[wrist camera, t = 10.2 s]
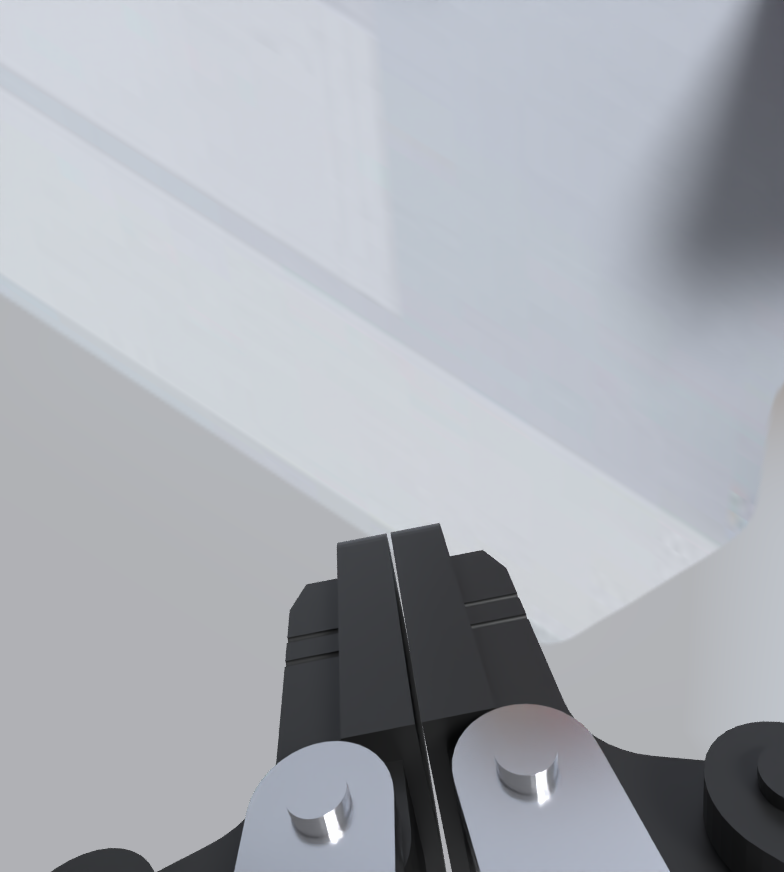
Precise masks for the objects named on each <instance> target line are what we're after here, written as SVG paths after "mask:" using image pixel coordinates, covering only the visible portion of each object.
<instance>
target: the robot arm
mask: <svg viewBox="0 0 784 872" xmlns="http://www.w3.org/2000/svg"><path fill="white" fill-rule="evenodd" d="M391 538H392V544H393V550H394V556H395V563H396V569H397V574H398V581H399V587H400V593H401V599H402V605H403V611H404V617H403V612H402V607H401V602H400V597H399V592H398V588H397V582H396V577H395V572H394V568H393V563H392V558H391V552H390V548H389V543H388V538H387V534H381V535H376V536H371V537H366V538H361V539H356V540H350V541H346V542H340V543H337V575H338V576H337V577H338V579H333V580H327V581H322V582H317V583H312V584H307V585H306V586H305V588H304V589H303V591H302V592H301V594H300V596H299V597H298V599H297V600H296V602H295V603H294V605H293V606H292V608H291V610H290V614H289V626H288V637H287V638H288V643H287V648H286V660H285V661H286V667H285V671H284V683H283V694H282V705H281V717H280V728H279V740H278V751H277V761H276V765H275V766H274V767H273V768H272V769H271V770H270V771H269V772H268V773H267V774H266V775H265V777H264V778H263V779H262V780H261V782H260V783H259V785H258V786H257V788H256V789H255V791H254V793H253V796H252V798H251V800H250V802H249V806H248V809H247V813H246V817H245V819H244V820H243V821H242V822H241V823H240V824H239V825H238V826H237V827H236V828H234V829H233V830H232V831H230V832H229V833H228V834H226V835H225V836H224V837H222V838H220V839H219V840H217V841H215V842H213V843H212V844H210V845H208V846H206V847H204V848H202V849H201V850H199V851H197V852H195V853H193V854H191V855H189V856H187V857H185V858H183V859H181V860H179V861H177V862H175V863H173V864H172V865H169V866H168V867H166V868H164V869H162V870H160V871H158V872H446V868H445V861H444V855H443V849H442V843H441V837H440V831H439V825H438V818H437V813H436V806H435V801H434V794H433V788H432V782H431V776H430V770H429V763H428V757H427V751H428V755H429V761H430V765H431V770H432V775H433V780H434V785H435V790H436V795H437V800H438V804H439V809H440V814H441V820H442V824H443V829H444V834H445V839H446V844H447V849H448V854H449V859H450V863H451V869H452V872H784V723H782V722H754V723H749V724H744V725H741V726H737V727H735V728H732V729H730V730H728V731H726V732H725V733H724V734H722V735H721V736H719V737H718V738H717V739H716V741H714V743H713V744H712V745H711V747H710V749H709V750H708V752H707V754H706V759H705V761H703V760H692V759H680V758H668V757H659V756H649V755H642V754H637V753H633V752H629V751H625V750H622V749H619V748H617V747H614V746H612V745H609V744H607V743H605V742H604V741H602V740H600V739H598V738H596V737H595V736H594V735H592V734H591V733H590V732H589V731H588V730H587V729H586V728H585V727H584V726H583V725H582V724H581V723H580V722H578V721H577V720H576V719H574V717H573V716H572V715H571V713H570V712H569V710H568V708H567V707H566V705H565V703H564V701H563V699H562V696H561V694H560V692H559V689H558V687H557V684H556V682H555V680H554V677H553V675H552V673H551V671H550V668H549V666H548V664H547V662H546V659H545V657H544V654H543V652H542V650H541V647H540V645H539V643H538V640H537V638H536V636H535V634H534V631H533V629H532V627H531V624H530V622H529V620H528V619H527V617H526V613H525V610H524V608H523V606H522V603H521V601H520V599H519V598H518V596H517V592H516V590H515V587H514V585H513V583H512V580H511V578H510V576H509V573H508V571H507V569H506V568H505V567H504V566H503V565H502V564H500V563H499V562H498V561H496V560H495V559H494V558H492V557H491V556H490V555H488V554H487V553H486V552H485V551H483V550H481V551H475V552H470V553H465V554H460V555H455V556H449V552H448V549H447V546H446V542H445V539H444V536H443V533H442V529H441V526H440V524H439V523H437V524H432V525H427V526H422V527H417V528H411V529H406V530H401V531H396V532H391ZM404 618H405V622H404ZM405 623H406V627H405ZM406 629H407V632H406ZM407 636H408V638H407ZM408 642H409V643H408ZM409 648H410V649H409ZM422 726H423V727H422ZM423 731H424V733H423ZM424 736H425V739H424ZM425 741H426V745H425ZM426 746H427V751H426ZM52 872H154V870H153V869H152V867H151V866H150V864H149V863H148V862H147V861H146V860H145V859H144V858H143V857H142V856H141V855H139V854H137V853H135V852H133V851H130V850H126V849H118V848H108V849H102V850H96V851H92V852H90V853H86V854H83V855H81V856H78V857H76V858H74V859H72V860H69V861H68V862H66V863H64V864H63V865H61V866H59V867H58V868H56V869H54V870H53V871H52Z"/></svg>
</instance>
